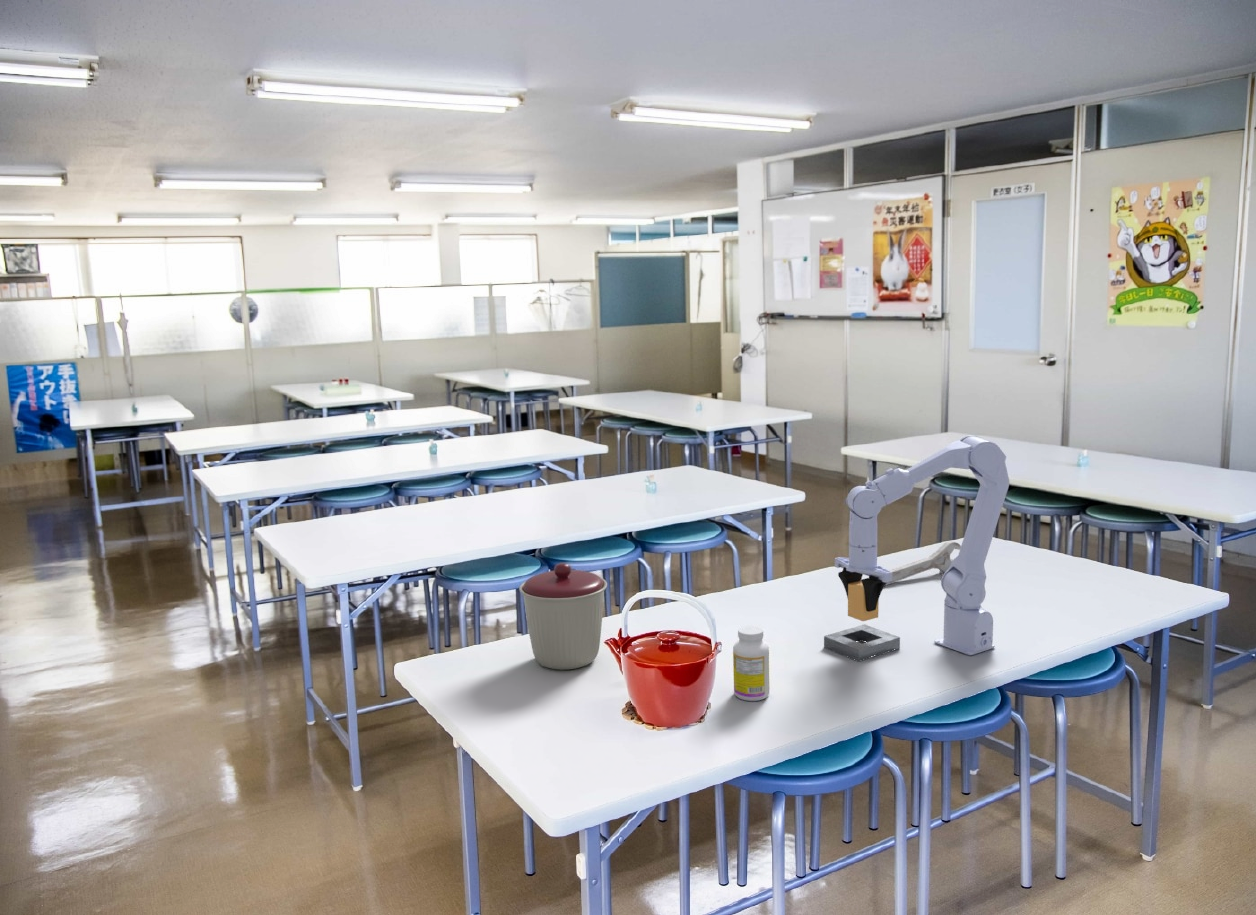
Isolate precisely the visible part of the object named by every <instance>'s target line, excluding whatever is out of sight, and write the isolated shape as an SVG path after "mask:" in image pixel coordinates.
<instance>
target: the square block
mask: <svg viewBox="0 0 1256 915" xmlns="http://www.w3.org/2000/svg"><path fill="white" fill-rule="evenodd" d="M879 600H880V598H879V599H878V603H877V606H876V610H874V611H870V612H868V611H867V610H866V604H865V591H864V587H863V584H862V582H861V581H858V582H854V583H850V584H848V598H847V616H848V617H849V618H853V619H855V620H858V621H861V622H866V621H871V620H874V619H878V618H879Z"/></svg>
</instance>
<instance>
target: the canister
mask: <svg viewBox="0 0 1256 915" xmlns="http://www.w3.org/2000/svg"><path fill="white" fill-rule="evenodd" d="M607 588H608V582H607V580H605V579H604V578H603V577H601V576H599V575H597V574H596V573H592V572H590V571H586V570H581V569H580V570H578V569H572V567H571V565H570V564H569V563H566V562H559V563H557V564H556V565H555V566H554V568H553V570H551V571H545V572H541V573H538V574H535V575H533V576H530V577H529V578H528V579H527V580H525V581H524V582H522V583H521V584H520V586H519V587H518V589H519V590H518V591H519V592H520V593H521V595H522V596H523V602H524V603H523V604H524V611H525V616H526V623H527V629H528V635H529V639H530V640H529V641H530V643H531V649H532V653H533V656H534V658H535V660H536V661H537V662H538V664H540V666H542V667H545V668H549V669H553V670H557V671H559V670H563V671H564V670H567V671H568V670H576V669H578V668H579V669H580V668H583V667H585V666H588V665H590V664H591V663H593V661H595V659H596V658H597V657H598V654H599V650H600V645H601V644H600V643H601V635H602V624H603V614H604V613H603V612H604V610H603V609H604V598H605V597H604V595H605V590H606V589H607Z"/></svg>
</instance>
